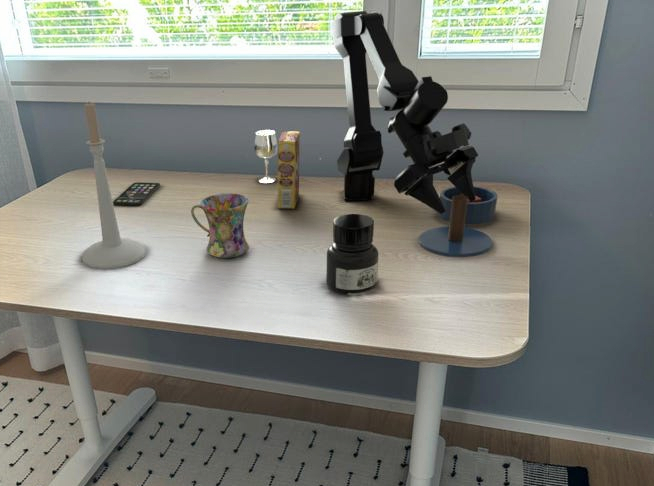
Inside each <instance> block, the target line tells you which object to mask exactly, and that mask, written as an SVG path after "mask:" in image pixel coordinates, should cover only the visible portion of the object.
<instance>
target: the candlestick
mask: <svg viewBox="0 0 654 486" xmlns="http://www.w3.org/2000/svg"><path fill="white" fill-rule="evenodd" d="M83 108H84V113H85V120H86V127H87V131H88V138H89V140H88V141H86V142H85V144H86V145H88V147H89V152H90V153H91V154H92V156H93V169H94V177H95V185H96V186H95V187H96V193H97V194H96V195H97V201H98V209H99V210H98V212H99V220H100V227H101V236H102V238H101V240H100V241H97V242H95V243H93V244H92V245H90V246H89V247H87V248H86V249H85V250H84V251H83V252H82V255H81V259H82V262H83V264H85V265H86V266H87V267H90V268H93V269H100V270H101V269H102V270H103V269H104V270H108V269H118V268H119V269H120V268H123V267H128V266H131V265H133V264H136V263H137V262H139V261H141V260H142V259H143V258H144V257H145V256H146V247H145V246H144V245H143V244H142V243H141V242H138V241H137V240H134V239H132V238H131V239H130V238H122V237H121V234H120V230H119V229H120V228H119V225H118V220H117V216H116V210H115V206H114V204H113V201H114V200H113V197H112V191H111V187H110V183H109V177H108V172H107V169H106V164H105V163H106V162H105V160H104V158H103V154H104V153H103V152H104V151H105V148H104V144H105V143H106V140H105V139H102V138H101V133H100V132H101V131H100V126H99V121H98V113H97V109H96V108H97V107H96V104H95V103H93V102H90V101H88V102H87V103H84V105H83Z"/></svg>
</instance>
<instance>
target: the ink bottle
mask: <svg viewBox="0 0 654 486" xmlns="http://www.w3.org/2000/svg"><path fill="white" fill-rule="evenodd" d="M332 225H333V226H332V238H333V239H332V241H333V243H332V244H331V245H330V246H329V247H328V248H327V250H326V277H325V278H326V279H325V280H326V285H327V287H328V288H329V289H330V290H332V291H333V292H335V293H337V294H341V295H349V294H362V293H365V292H368V291H371V290H373V289H375V287H376V286H377V285H378V274H379V273H378V272H379V250H378V248H377V247H376V246H375V245H374V244H373V242H374V232H375V231H374V229H375V220H374V219H373V217H371V216H369V215H365V214H360V213H349V214H348V213H347V214H343V215H339V216H337V217H335V218H334V220H333V223H332Z"/></svg>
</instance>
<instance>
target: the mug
mask: <svg viewBox="0 0 654 486" xmlns="http://www.w3.org/2000/svg"><path fill="white" fill-rule="evenodd" d="M248 204H249V198H248V197H247V196H246V195H243V194H240V193H231V192H230V193H229V192H228V193H227V192H225V193H216V194H212V195H209V196H206V197H204V198H203V199H202V200H201V201H200V204H196V205H193V206H192V207H191V208H190V213H191V214H190V215H191V216H192V219H193V221H194V222H195V224H197V226H198V227H199V228H200V229H202V230H203V231H205V232H206V233H208V234H207V235H206V237H207V238H209V240H208V243H207V246H206V252H207V254H209V255H211V256H212V257H216V258H221V259H222V258H223V259H230V258H235V257H239V256H242V255H244V254H245V253H247V252H248V250H249V248H250V245H249V243H248V241H247V239H246V236H245V231H244V218H245V215H246V210H247V207H248ZM196 208H199V209H201V210H203V212H204V215H205V217H206V220H207V223H208V228H209V229H208V228H207V227H205V226H204V225H203V224H202V223H201V222H200V221H199V220H198V219H197V217H196V215H195V211H194V210H195V209H196Z"/></svg>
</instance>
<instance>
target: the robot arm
mask: <svg viewBox="0 0 654 486" xmlns="http://www.w3.org/2000/svg"><path fill="white" fill-rule="evenodd" d="M330 34H331V36H332V39H333V46H334V48H335V50H336V51H337V52H338V54H339V56H340V57H341V58H342V60H343V61H342V62H343V71H344V81H345V83H344V84H345V92H346V93H345V94H346V102H347V112H348V113H347V114H348V125H349V128H348V130H347V133H346V135H345V137H344V140H343V149H342V151H341V153H340V155H339V157H338V158H337V160H336V165H337V171H339V172H340V173H341V174H343V175H344V176H343V177H344V178H343V179H344V180H343V190H342V195H343V200H344V201H347V202H349V201H373V196H375V187H376V186H375V182H376V176H375V175H374V174H373V172H374V171H380V169H381V165H382V161H383V157H384V153H385V152H384V148H383V147H384V146H383V143H382V133H381V131H380V130H376V128H375V126H374V125H373V124H372V115H371V114H372V113H371V103H370V102H371V101H370V91H369V89H370V88H369V80H368V78H369V77H368V68H367V67H368V66H367V55H368V56H369V59H370V62H371V65H372V67H373V69H374V71H375V73H376V75H377V78H378V85H377V89H376V93H377V96H378V103H379V105H380V106H381V108H382V109H383V111H385V112H394V111H398V112H397V113H396V115H394V116H392V117H390V118H389V119H388V125H387V133H388V134H391V133H393V132H395V134H396V135H397V137H398V139H399V140H400V142H401V144H402V145H403V147H404V149H405V151H404V152H402V155H403V157H404V158H405V159H407V158H410V159H411V160H412V162H413V164H410V165H408V166H407V167H406V168H404V169H403V170H402V171H401V172H400V173H399V174H398V175H397V176H396V177H395V178H394V183H393V186H394V188H395V190H396V191H397V193H398V194H402V193H404V195H405V196H409V197H411V198H413V199H414V200H416V201H419V202H420V203H422V204H424V205H426V207H429V208H430V209H432V210H434V212H437V214H438V213H440V214H443V213H444V212H445V208H444V205H443V203H442V201H441V199H440V194H438V192H437V189H436V188H435V186H434V175H435V174H439V173H442V172H443V173H444V174H446V175H447V176H448V177H447V178H446V179H447V180H448V181H449V182H450V183H451V184H452V186H453V187H456V188H457V189H458V190H459V191H460V192H461V193H462V194H463V195H464V196H467V197H468V200H469V201H471V202H472V201H474V200H475V199H476V197H475V192H474V187H473V186H474V182H473V177H472V169H473V165H474V163H476V159H477V158H478V156H479V153H478V151H477V150H476V148H475V147H474V146H472V145H471V146H470V143H469V140H470V139H471V137H472V132H471V130H470V128H469V127H468V126H467V125H466V124H465V123H463V122H462V123H460V124H458V125H455V126H452V128H451V132H448V133H446V134H442V133H441V132H440V131H439V130H435V131H433V130H432V129H431V127H430V124H431V123H432V122H433V121H434V120H435V119H436V117H437V116H438V114H439V113H440V112H441V111H442V110H443V109H444V107H445V106H446V105H447V103H448V100H449V93H448V92H447V89H445V87H443V86H442V85H441V84H440V83H438V82H436V81H434V80H433V77H432V76H431V75H429V76H428V75H427V76H421V77H420V78H419V79H418V78H417V76H416V74H415V73H414V72H413V71H412V70H411V69H410V68H408V67H406V66H405V65H403V64H402V62H401V60H400V57H399V56H398V54H397V51H396V48H395V47H394V45H393V43H392V40H391V37H390V35H389V33H388V31H387V29H386V26H385V19H384V16H383V14H382V13H379V12H369V13H368V12H367V11H366V10H359V11H349V12H340V13H337V14H336V15H335V16H334V19H332V20H331V23H330Z"/></svg>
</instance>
